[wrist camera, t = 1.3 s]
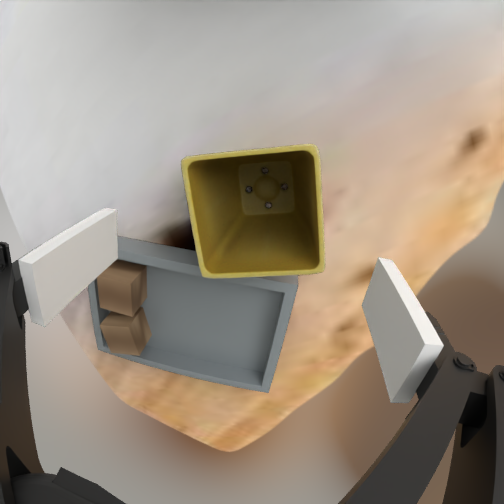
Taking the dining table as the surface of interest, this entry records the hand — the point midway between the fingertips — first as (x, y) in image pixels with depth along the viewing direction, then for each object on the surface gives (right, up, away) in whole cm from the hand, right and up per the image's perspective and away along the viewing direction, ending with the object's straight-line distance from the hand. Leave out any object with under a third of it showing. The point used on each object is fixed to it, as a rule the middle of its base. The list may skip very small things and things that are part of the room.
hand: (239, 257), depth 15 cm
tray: (-7, -6, +20) cm, 22 cm away
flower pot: (+2, +6, +14) cm, 15 cm away
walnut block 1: (-13, -3, +18) cm, 22 cm away
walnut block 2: (-14, -8, +21) cm, 26 cm away
